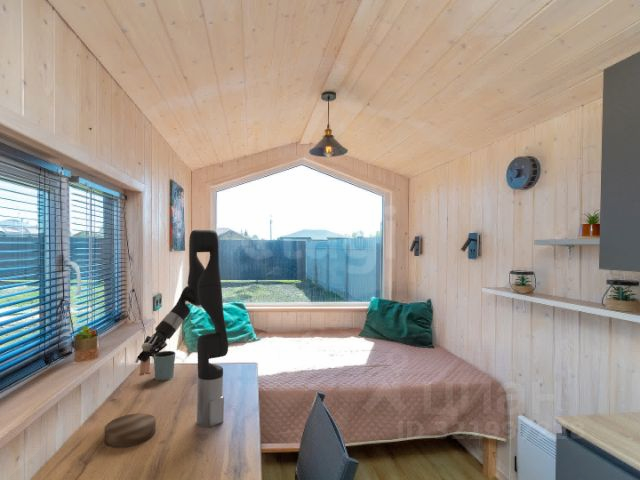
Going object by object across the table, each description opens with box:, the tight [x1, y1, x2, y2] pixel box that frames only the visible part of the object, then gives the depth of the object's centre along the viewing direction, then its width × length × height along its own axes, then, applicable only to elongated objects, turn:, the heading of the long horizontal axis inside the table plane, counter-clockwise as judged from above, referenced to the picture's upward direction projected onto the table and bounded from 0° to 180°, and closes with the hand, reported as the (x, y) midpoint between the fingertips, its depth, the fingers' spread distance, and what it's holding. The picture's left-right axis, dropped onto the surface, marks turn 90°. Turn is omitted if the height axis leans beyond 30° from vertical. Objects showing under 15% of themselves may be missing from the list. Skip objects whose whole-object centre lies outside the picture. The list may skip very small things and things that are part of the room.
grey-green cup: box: [153, 350, 176, 382], centre depth 185 cm, size 10×10×12 cm
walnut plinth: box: [103, 412, 157, 449], centre depth 130 cm, size 16×16×4 cm
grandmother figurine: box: [135, 342, 156, 377], centre depth 152 cm, size 8×4×13 cm, turn 143°
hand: (140, 360), depth 150 cm, fingers closed on grandmother figurine, 2 cm apart
